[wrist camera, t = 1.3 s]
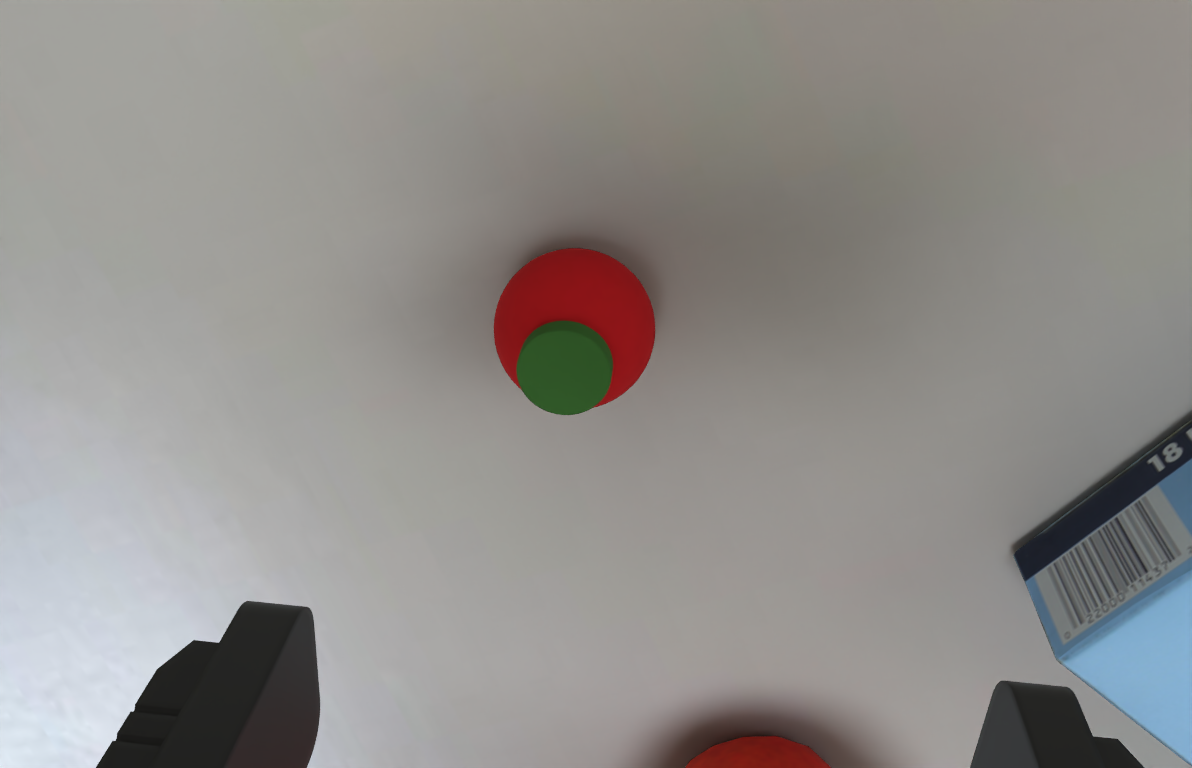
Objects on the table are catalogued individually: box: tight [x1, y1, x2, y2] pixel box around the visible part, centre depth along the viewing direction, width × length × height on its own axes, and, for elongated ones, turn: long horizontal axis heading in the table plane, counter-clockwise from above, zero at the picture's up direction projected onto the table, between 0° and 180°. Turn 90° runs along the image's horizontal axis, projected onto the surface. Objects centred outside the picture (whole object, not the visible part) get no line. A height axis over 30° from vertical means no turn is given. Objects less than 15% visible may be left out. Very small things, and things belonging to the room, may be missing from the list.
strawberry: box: [494, 248, 655, 415], centre depth 27 cm, size 4×4×4 cm
